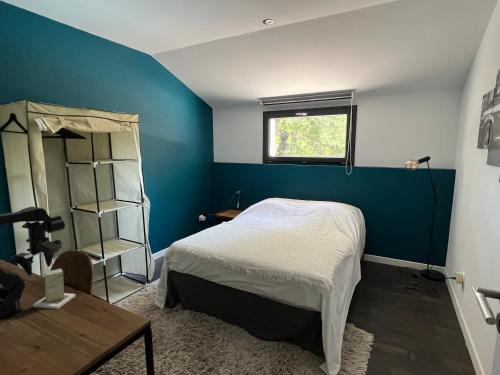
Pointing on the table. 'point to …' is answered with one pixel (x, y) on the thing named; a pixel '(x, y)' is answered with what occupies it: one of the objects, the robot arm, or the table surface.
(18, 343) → the table surface
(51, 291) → the skincare box
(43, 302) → the white square tray
